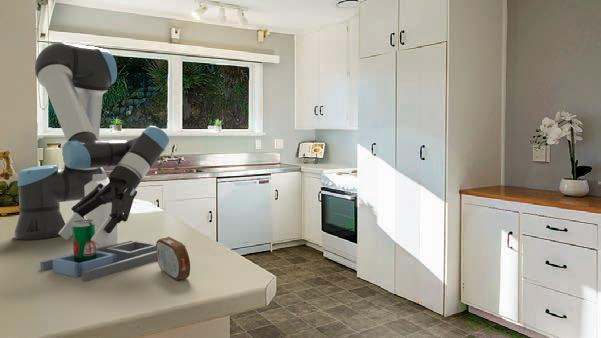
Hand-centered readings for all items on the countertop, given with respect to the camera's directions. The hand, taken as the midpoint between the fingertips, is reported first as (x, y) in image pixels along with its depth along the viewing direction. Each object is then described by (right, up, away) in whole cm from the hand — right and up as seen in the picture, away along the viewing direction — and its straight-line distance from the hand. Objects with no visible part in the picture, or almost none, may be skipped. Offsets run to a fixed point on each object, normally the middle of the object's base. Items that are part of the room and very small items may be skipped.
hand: (78, 239), depth 106 cm
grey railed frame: (+4, -7, +8) cm, 11 cm away
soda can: (+1, -8, +2) cm, 8 cm away
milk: (-4, -6, +23) cm, 24 cm away
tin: (+24, -8, -4) cm, 26 cm away
